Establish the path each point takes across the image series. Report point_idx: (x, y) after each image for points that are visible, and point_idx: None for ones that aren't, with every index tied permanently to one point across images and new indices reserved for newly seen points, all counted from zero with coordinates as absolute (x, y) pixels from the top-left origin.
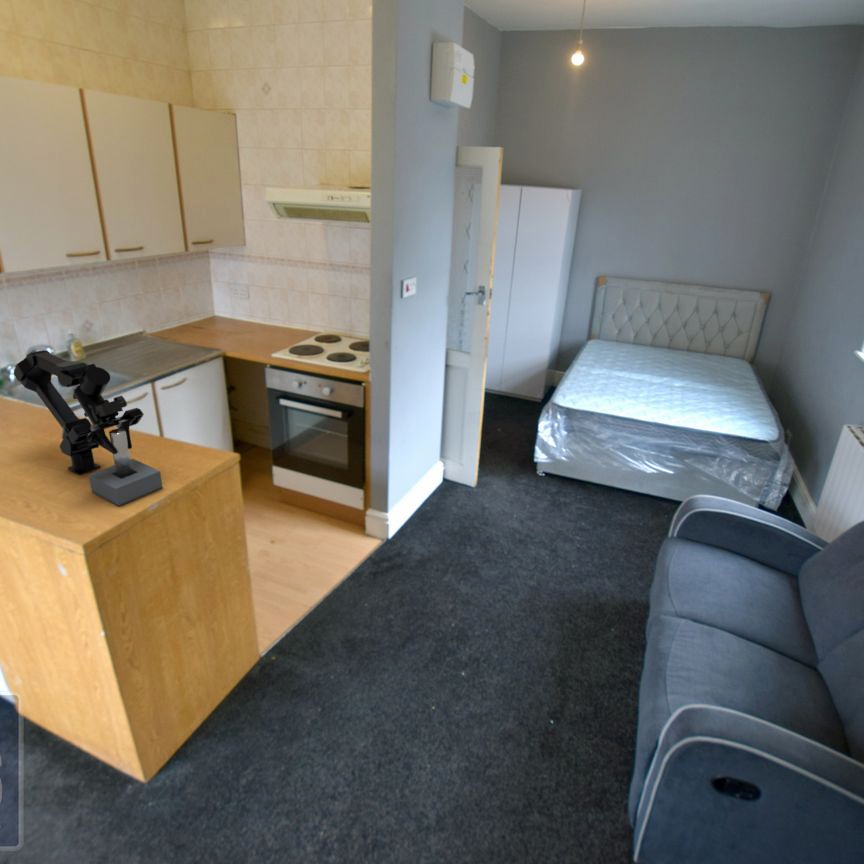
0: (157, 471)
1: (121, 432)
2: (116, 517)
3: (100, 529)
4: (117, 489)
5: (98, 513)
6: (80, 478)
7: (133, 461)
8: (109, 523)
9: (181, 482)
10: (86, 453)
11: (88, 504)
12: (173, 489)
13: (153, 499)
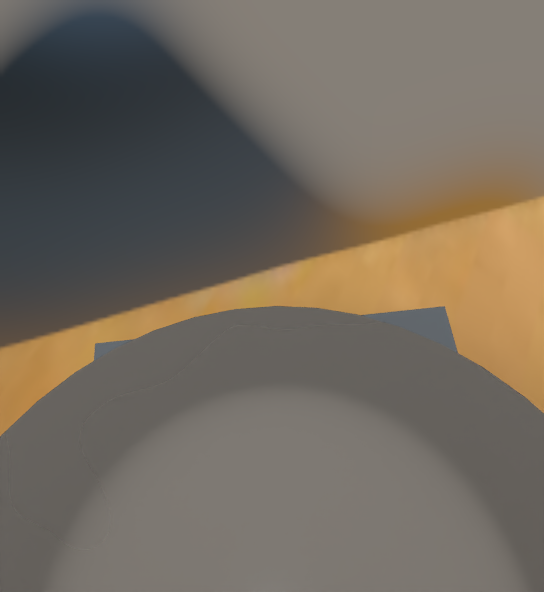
0: (109, 350)
1: (193, 420)
2: (449, 271)
3: (538, 226)
4: (430, 310)
5: (513, 367)
6: None
7: None
8: (492, 245)
9: (33, 374)
10: None
11: None
12: (113, 332)
13: (241, 307)
